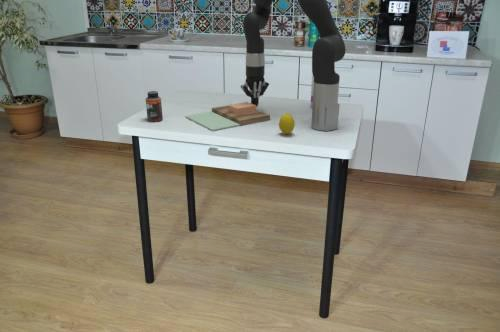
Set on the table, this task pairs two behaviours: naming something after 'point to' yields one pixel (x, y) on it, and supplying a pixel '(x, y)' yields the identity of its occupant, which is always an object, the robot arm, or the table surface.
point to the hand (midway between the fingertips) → (254, 106)
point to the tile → (242, 108)
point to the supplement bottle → (154, 107)
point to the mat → (212, 121)
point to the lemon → (286, 123)
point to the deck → (241, 116)
